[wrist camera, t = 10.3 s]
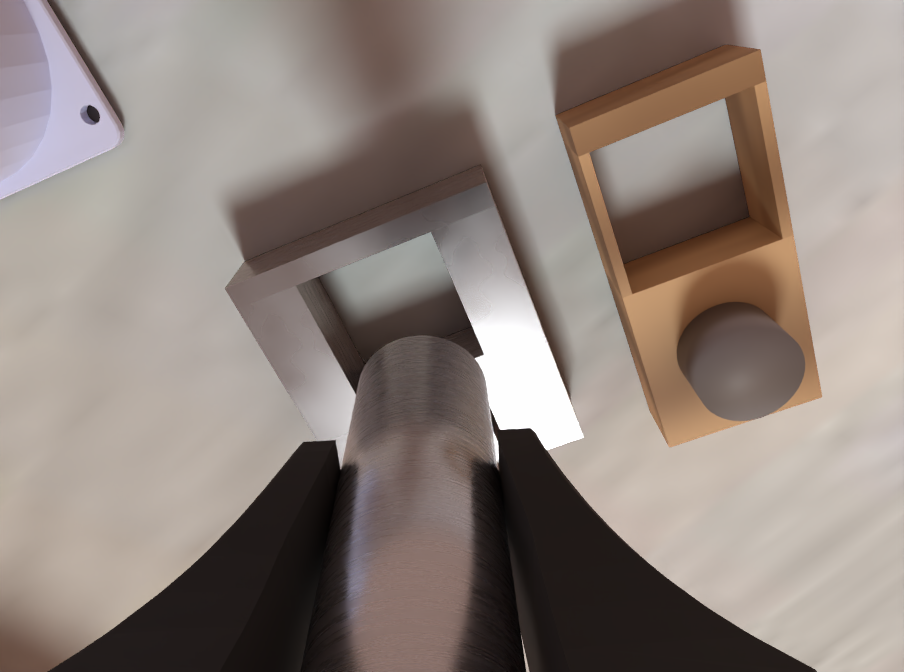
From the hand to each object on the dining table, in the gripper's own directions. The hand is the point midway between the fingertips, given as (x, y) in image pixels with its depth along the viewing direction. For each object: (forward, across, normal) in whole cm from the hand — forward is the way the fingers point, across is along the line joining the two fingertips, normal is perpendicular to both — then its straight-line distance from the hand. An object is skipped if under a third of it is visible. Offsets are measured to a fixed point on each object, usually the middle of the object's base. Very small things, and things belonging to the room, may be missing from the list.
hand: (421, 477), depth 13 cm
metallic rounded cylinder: (+3, 0, 0) cm, 3 cm away
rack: (+10, -8, 0) cm, 13 cm away
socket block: (+10, 0, +2) cm, 10 cm away
